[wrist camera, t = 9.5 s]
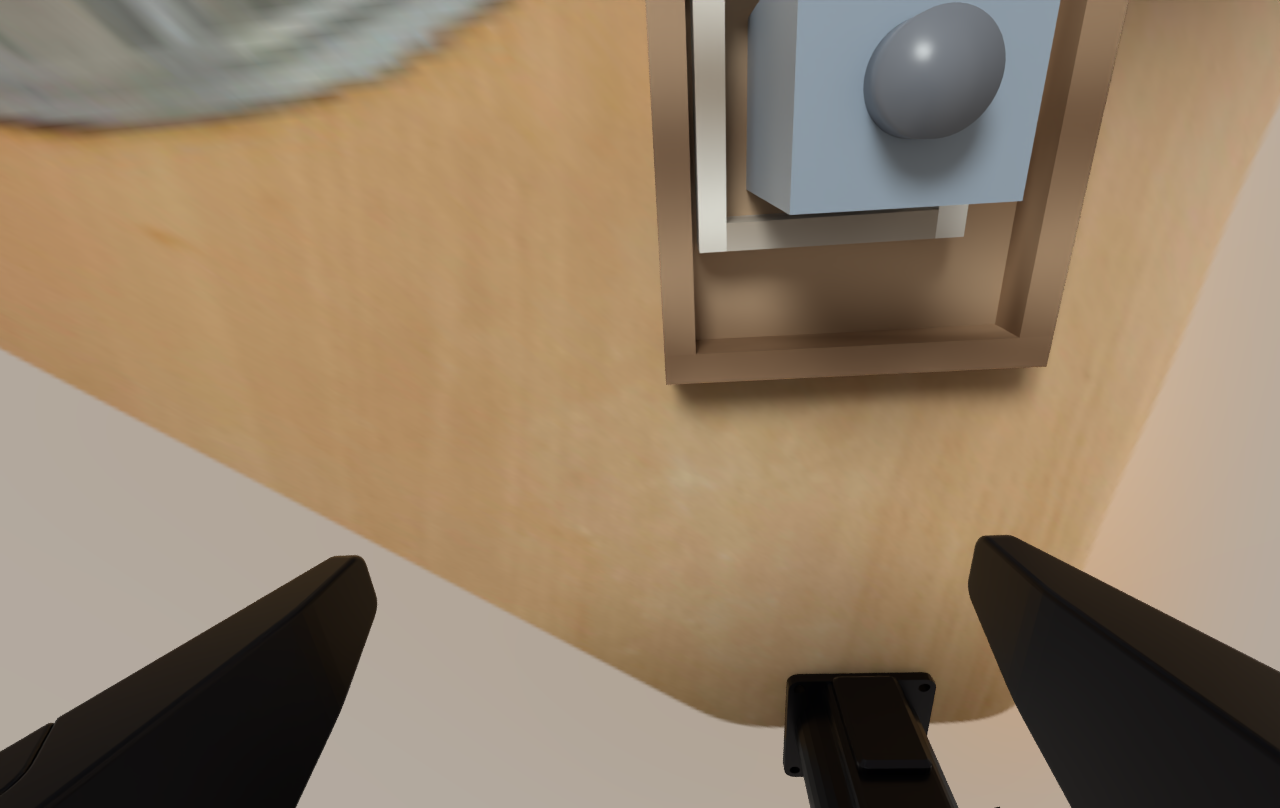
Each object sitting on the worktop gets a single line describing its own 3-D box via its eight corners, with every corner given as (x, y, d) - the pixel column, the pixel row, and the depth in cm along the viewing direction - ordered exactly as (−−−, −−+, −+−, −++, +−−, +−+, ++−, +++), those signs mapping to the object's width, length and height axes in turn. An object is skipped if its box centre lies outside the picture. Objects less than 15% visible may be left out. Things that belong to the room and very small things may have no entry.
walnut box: (1012, 346, 20) (1048, 367, 18) (666, 363, 21) (666, 385, 19) (1106, -135, 15) (1170, -174, 13) (642, -89, 16) (639, -120, 14)
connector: (895, 180, 18) (1053, 206, 11) (746, 189, 18) (799, 220, 11) (913, 4, 16) (1119, -110, 9) (747, 17, 16) (813, -82, 9)
